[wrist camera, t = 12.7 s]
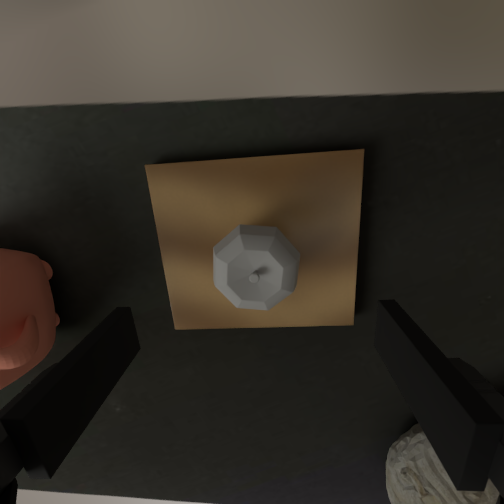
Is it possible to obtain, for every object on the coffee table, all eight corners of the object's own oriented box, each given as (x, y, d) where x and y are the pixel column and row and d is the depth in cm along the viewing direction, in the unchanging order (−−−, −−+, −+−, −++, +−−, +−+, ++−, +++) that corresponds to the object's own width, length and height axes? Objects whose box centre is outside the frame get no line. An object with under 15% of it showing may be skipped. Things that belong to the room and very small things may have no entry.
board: (151, 164, 26) (144, 164, 24) (359, 149, 24) (364, 148, 23) (179, 322, 32) (175, 329, 30) (349, 317, 30) (353, 325, 29)
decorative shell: (365, 484, 39) (397, 589, 29) (381, 390, 33) (426, 481, 24) (493, 490, 38) (569, 601, 28) (532, 394, 32) (643, 491, 22)
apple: (311, 235, 26) (325, 257, 19) (274, 298, 28) (276, 337, 22) (237, 198, 25) (228, 210, 19) (206, 267, 27) (188, 297, 21)
